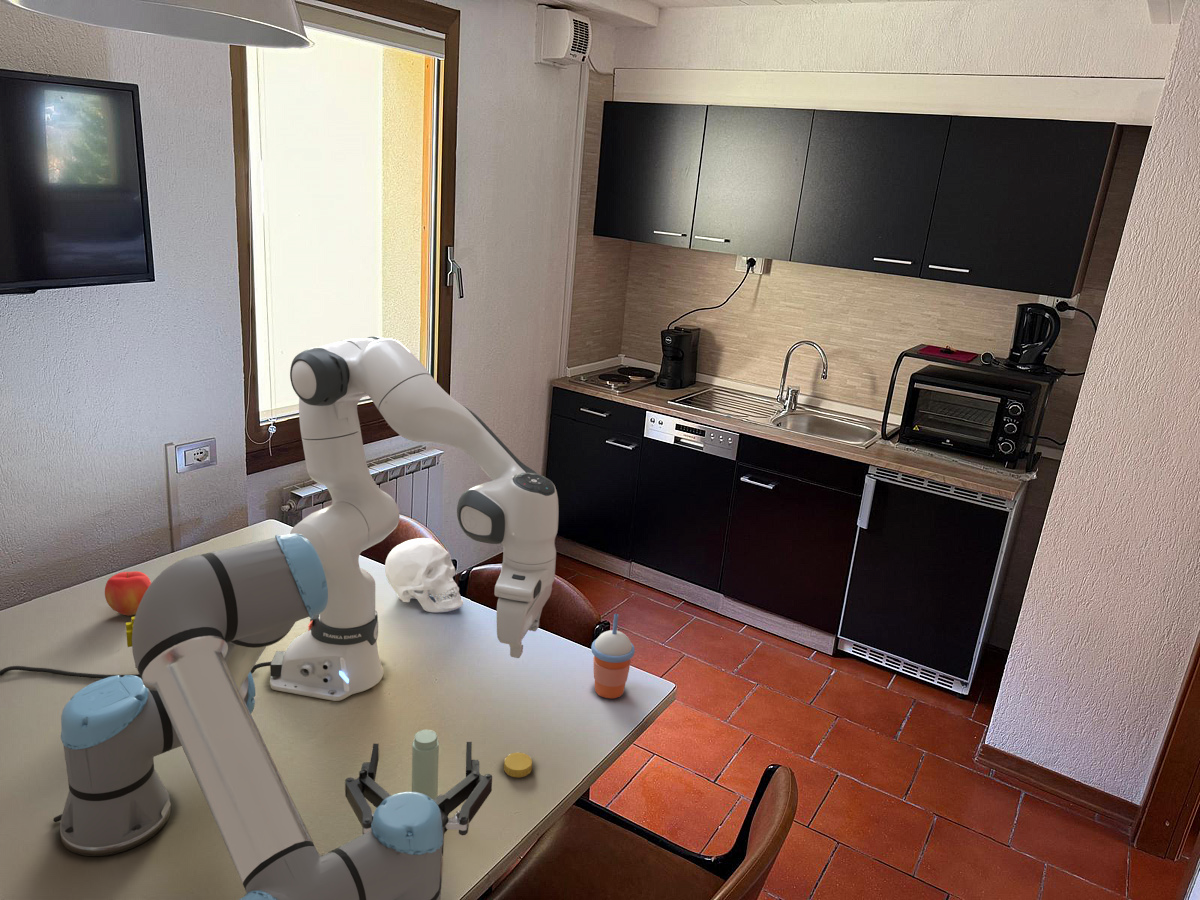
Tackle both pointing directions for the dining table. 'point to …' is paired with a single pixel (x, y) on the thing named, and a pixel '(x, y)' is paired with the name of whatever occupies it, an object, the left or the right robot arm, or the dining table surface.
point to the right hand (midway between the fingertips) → (524, 641)
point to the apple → (126, 591)
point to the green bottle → (425, 763)
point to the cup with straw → (611, 661)
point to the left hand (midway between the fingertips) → (422, 750)
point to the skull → (423, 575)
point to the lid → (517, 765)
